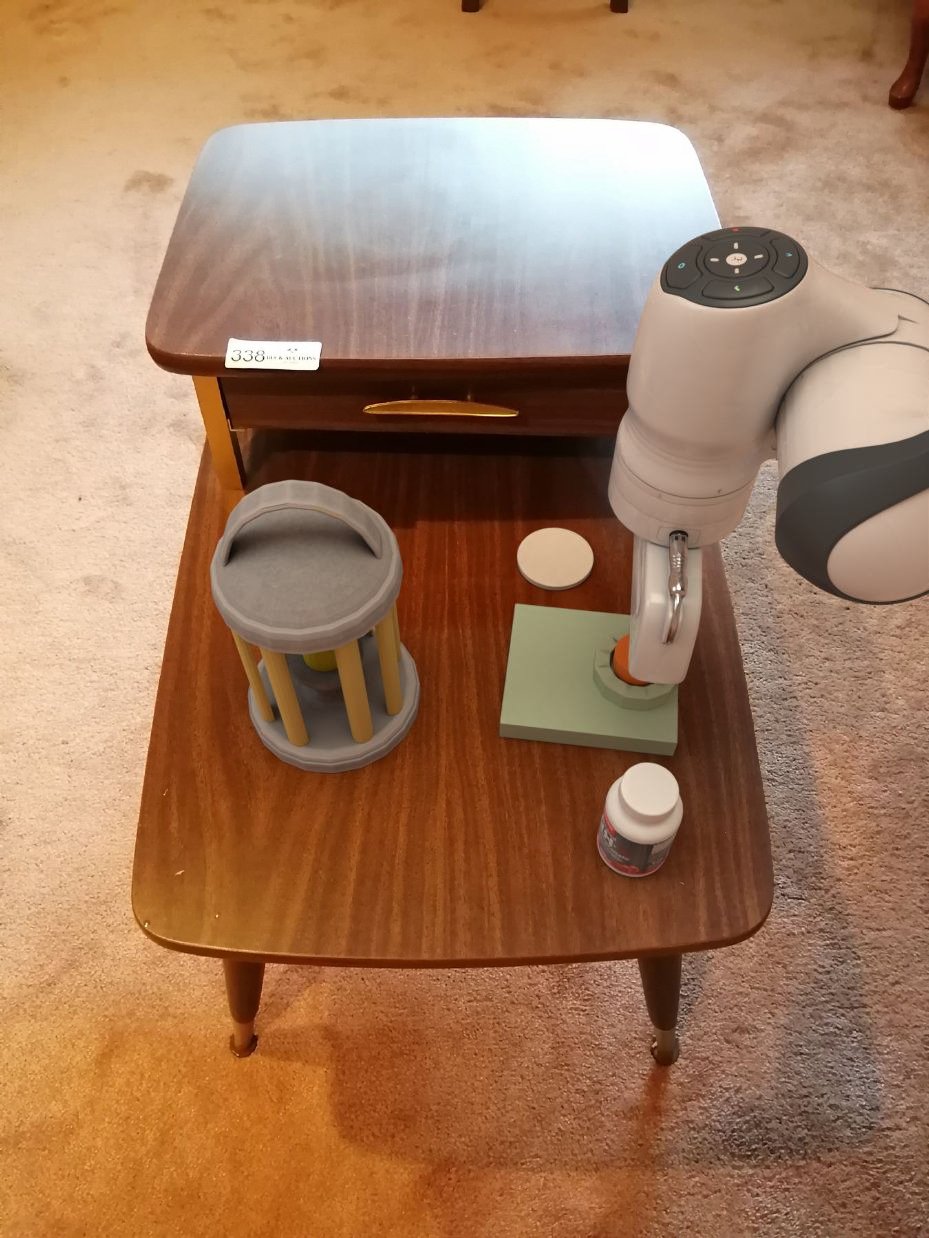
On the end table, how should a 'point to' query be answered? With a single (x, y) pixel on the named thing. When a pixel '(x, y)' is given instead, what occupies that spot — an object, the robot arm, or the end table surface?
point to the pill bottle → (640, 820)
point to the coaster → (555, 559)
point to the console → (581, 685)
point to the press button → (624, 662)
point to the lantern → (317, 624)
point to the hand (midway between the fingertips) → (647, 608)
